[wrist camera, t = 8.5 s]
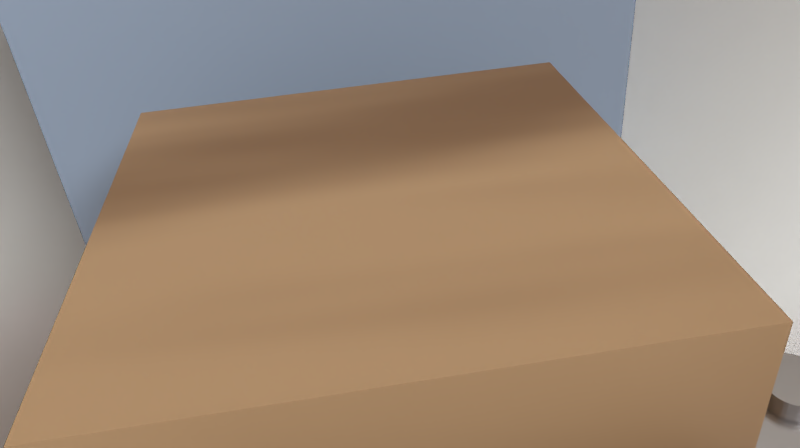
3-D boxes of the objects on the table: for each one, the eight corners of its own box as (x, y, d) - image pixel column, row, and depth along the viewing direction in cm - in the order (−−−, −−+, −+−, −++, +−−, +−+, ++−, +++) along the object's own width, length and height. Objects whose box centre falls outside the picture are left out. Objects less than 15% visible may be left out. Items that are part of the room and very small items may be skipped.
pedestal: (10, -165, 14) (-110, -137, 9) (577, -217, 14) (698, -212, 10) (161, 293, 20) (128, 433, 15) (553, 237, 21) (622, 356, 16)
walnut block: (140, 113, 9) (4, 446, 5) (549, 62, 10) (792, 321, 5) (227, 406, 12) (196, 785, 8) (536, 357, 13) (683, 688, 8)
